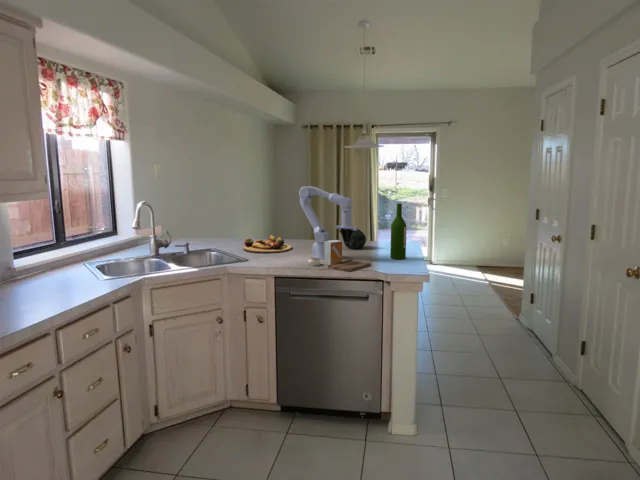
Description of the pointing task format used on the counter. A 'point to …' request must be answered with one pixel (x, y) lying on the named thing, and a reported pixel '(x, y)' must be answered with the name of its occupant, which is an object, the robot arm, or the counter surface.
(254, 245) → the wooden plate with food
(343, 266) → the cutting board
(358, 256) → the counter surface
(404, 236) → the wine bottle
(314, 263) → the ramekin
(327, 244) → the small box
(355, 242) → the squash
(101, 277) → the counter surface
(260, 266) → the counter surface
